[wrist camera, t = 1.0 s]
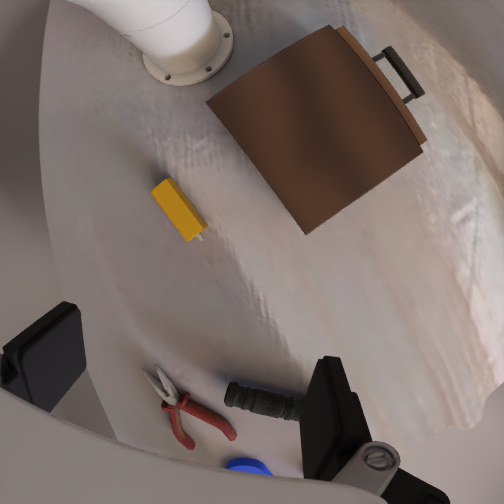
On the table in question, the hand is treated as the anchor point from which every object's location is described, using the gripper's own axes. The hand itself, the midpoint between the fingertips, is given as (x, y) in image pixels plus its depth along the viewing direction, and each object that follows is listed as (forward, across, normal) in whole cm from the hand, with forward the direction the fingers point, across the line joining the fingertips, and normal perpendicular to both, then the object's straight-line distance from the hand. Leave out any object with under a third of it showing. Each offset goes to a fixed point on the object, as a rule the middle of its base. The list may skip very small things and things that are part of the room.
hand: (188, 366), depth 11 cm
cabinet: (+31, -6, -13) cm, 34 cm away
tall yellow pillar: (+31, +9, -1) cm, 32 cm away
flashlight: (+31, -11, +27) cm, 43 cm away
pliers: (+31, +4, +33) cm, 45 cm away
